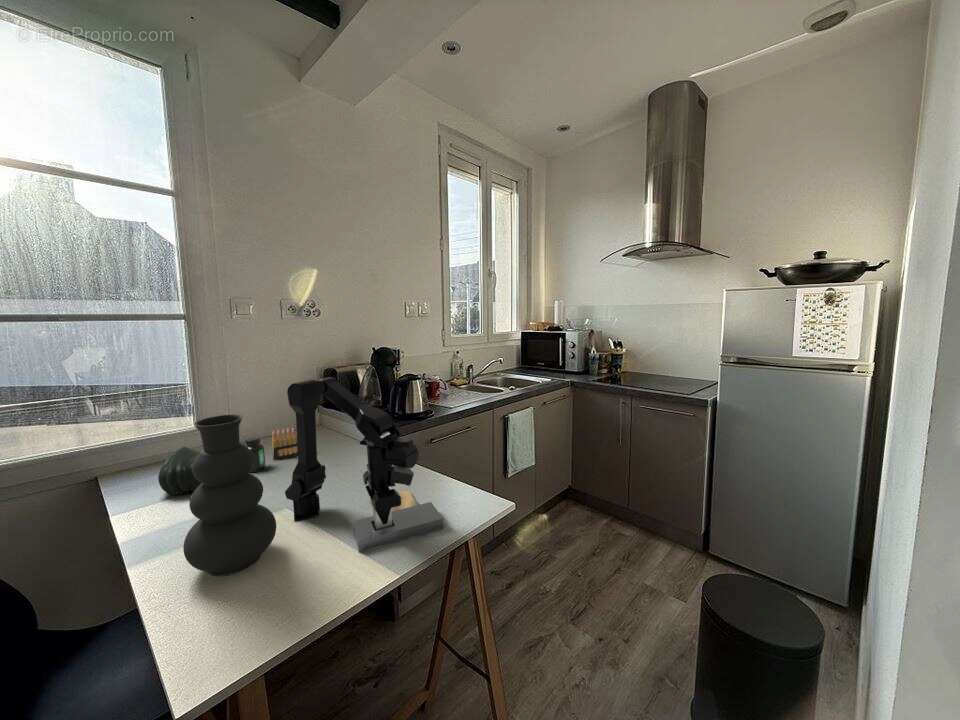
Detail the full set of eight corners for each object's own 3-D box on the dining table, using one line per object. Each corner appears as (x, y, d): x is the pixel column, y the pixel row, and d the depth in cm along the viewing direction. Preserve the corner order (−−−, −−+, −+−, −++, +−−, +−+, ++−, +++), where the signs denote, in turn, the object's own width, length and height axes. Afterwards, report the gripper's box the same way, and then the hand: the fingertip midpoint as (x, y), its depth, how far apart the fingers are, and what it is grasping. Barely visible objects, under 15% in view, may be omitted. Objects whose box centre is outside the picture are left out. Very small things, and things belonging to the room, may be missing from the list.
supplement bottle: (268, 469, 146) (265, 438, 144) (247, 474, 141) (244, 443, 139) (262, 464, 151) (259, 434, 149) (242, 469, 146) (239, 438, 144)
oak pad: (378, 521, 109) (377, 517, 108) (370, 502, 119) (370, 498, 119) (419, 510, 114) (419, 506, 114) (408, 493, 125) (408, 489, 124)
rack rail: (359, 552, 95) (358, 541, 95) (353, 531, 104) (352, 521, 103) (443, 528, 104) (443, 518, 104) (431, 511, 113) (430, 501, 113)
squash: (187, 487, 120) (204, 441, 128) (139, 489, 120) (159, 443, 128) (215, 498, 132) (229, 456, 140) (171, 501, 132) (187, 458, 140)
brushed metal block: (377, 540, 100) (375, 511, 99) (374, 532, 103) (372, 504, 102) (392, 536, 101) (391, 507, 100) (389, 528, 105) (387, 500, 104)
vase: (291, 559, 93) (278, 417, 88) (199, 603, 79) (177, 439, 74) (262, 530, 105) (249, 405, 100) (178, 565, 92) (159, 421, 87)
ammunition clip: (273, 460, 154) (270, 431, 152) (273, 459, 155) (270, 430, 154) (302, 454, 160) (300, 426, 158) (302, 453, 161) (299, 425, 160)
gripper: (420, 468, 95) (422, 528, 97) (401, 445, 111) (403, 496, 114) (374, 478, 90) (377, 540, 92) (361, 451, 107) (364, 505, 109)
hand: (382, 518), depth 102 cm, fingers open, 6 cm apart
